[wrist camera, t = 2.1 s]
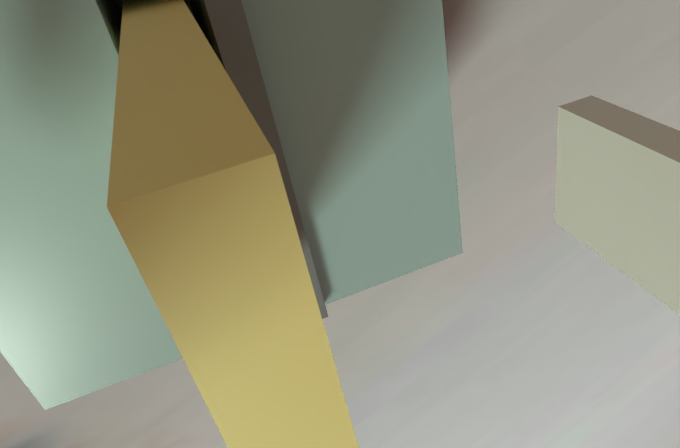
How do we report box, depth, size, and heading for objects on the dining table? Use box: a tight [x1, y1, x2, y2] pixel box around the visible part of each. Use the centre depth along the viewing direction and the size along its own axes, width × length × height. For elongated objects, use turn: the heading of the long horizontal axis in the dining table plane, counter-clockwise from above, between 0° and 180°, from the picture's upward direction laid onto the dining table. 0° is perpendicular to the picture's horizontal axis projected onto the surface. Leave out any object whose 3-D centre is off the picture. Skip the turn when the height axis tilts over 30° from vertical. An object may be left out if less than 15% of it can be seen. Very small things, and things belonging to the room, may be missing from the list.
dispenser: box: [0, 0, 463, 410], centre depth 17 cm, size 14×12×9 cm
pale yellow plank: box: [107, 0, 359, 448], centre depth 13 cm, size 1×8×16 cm, turn 12°
